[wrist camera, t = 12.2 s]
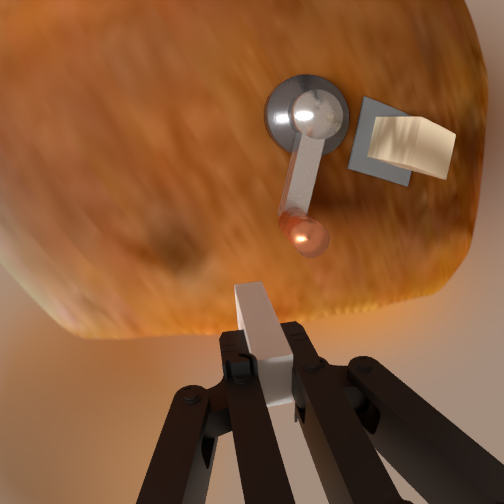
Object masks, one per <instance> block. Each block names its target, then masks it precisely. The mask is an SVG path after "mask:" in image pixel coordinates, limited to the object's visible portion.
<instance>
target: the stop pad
mask: <svg viewBox="0 0 504 504" xmlns="http://www.w3.org/2000/svg"><path fill="white" fill-rule="evenodd" d="M376 117H413V116H411V115H408V114H406V113H404V112H402V111H399V110H397V109H395V108H392V107H390V106H388V105H385V104H383V103H380V102H378V101H375V100H373V99H370V98H368V97H365V96H364V97H363V101H362V106H361V111H360V116H359V120H358V125H357V130H356V134H355V138H354V143H353V147H352V151H351V156H350V160H349V164H348V169H351V170H355V171H358V172H362V173H365V174H368V175H372V176H375V177H378V178H382V179H385V180H388V181H391V182H394V183H397V184H400V185H403V186H406V187H408V184H409V180H410V176H411V172H412V171H411V170H407V169H403V168H399V167H397V166H394V165H391V164H388V163H385V162H382V161H379V160H376V159H373V158H370V157H367V154H368V150H369V146H370V142H371V137H372V133H373V128H374V124H375V119H376Z"/></svg>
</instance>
